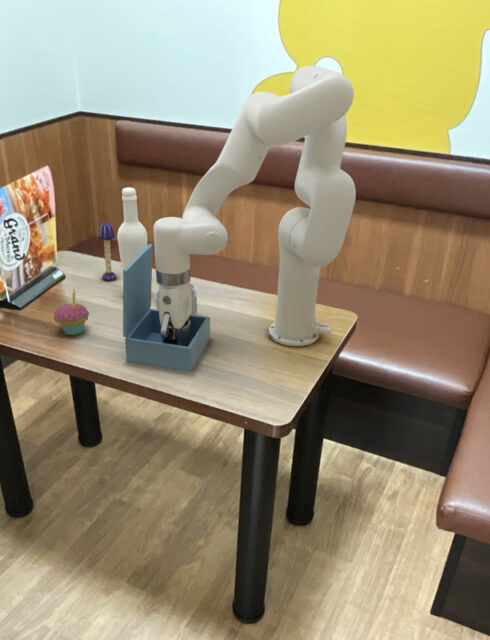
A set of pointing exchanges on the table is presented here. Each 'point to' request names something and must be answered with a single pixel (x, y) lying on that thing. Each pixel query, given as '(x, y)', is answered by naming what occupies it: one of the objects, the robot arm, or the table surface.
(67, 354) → the table surface
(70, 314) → the cupcake
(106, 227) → the toy lamp
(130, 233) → the bottle
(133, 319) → the lid
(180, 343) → the steel cup
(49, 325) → the table surface
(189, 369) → the box
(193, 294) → the teacup
